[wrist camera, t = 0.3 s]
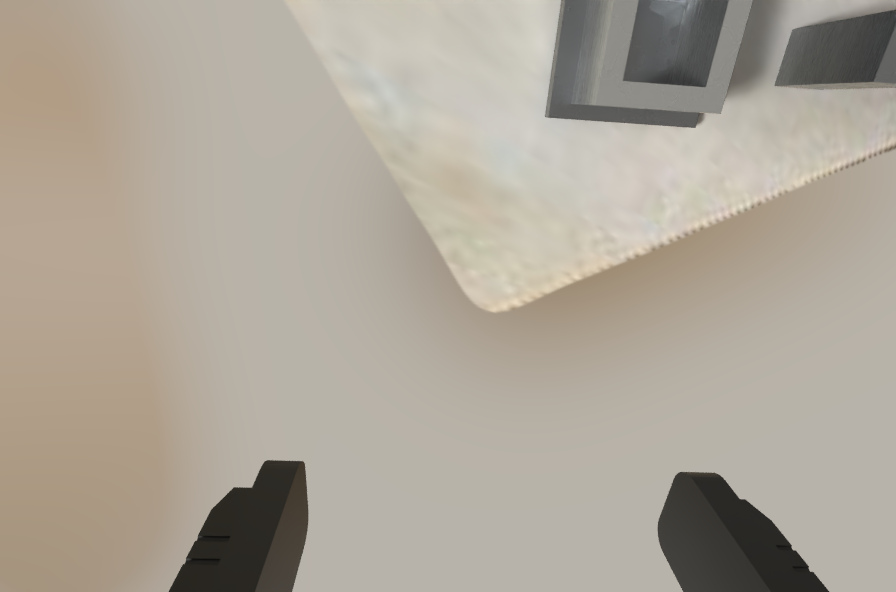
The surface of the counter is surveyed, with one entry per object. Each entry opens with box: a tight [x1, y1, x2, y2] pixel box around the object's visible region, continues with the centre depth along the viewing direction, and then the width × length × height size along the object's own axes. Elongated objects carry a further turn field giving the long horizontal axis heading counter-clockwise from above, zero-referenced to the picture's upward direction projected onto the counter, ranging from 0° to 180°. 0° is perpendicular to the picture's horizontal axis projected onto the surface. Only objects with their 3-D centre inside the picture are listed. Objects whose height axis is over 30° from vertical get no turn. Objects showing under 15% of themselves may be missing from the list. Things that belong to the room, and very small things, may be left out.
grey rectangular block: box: [775, 10, 896, 90], centre depth 29 cm, size 4×4×8 cm
